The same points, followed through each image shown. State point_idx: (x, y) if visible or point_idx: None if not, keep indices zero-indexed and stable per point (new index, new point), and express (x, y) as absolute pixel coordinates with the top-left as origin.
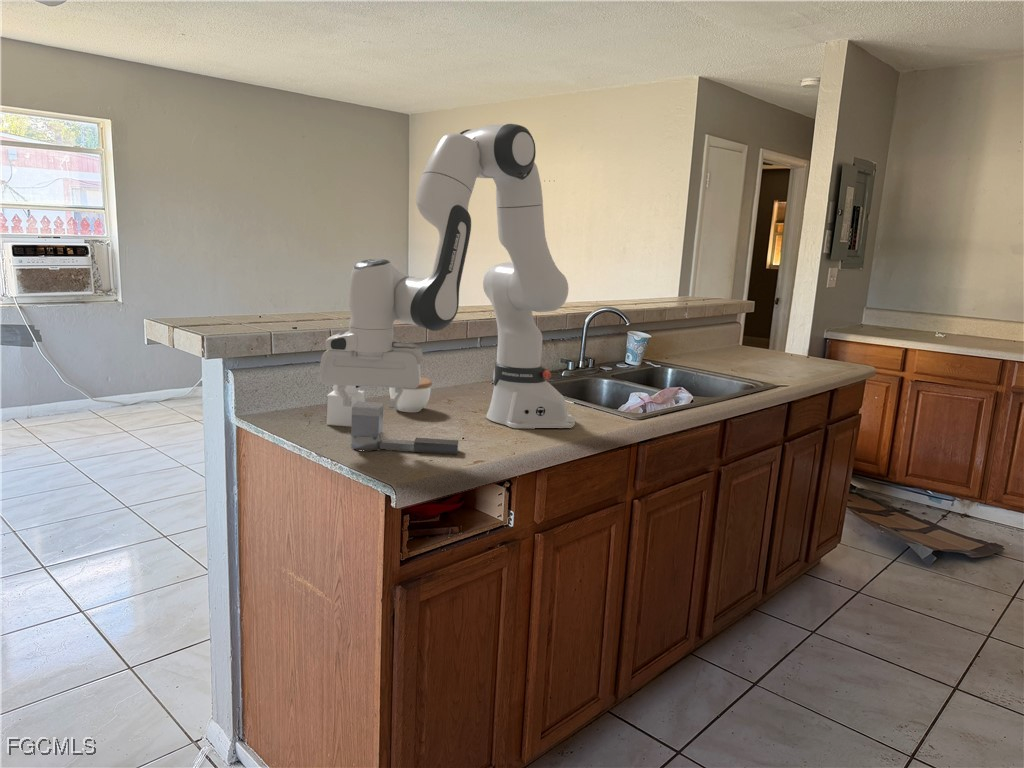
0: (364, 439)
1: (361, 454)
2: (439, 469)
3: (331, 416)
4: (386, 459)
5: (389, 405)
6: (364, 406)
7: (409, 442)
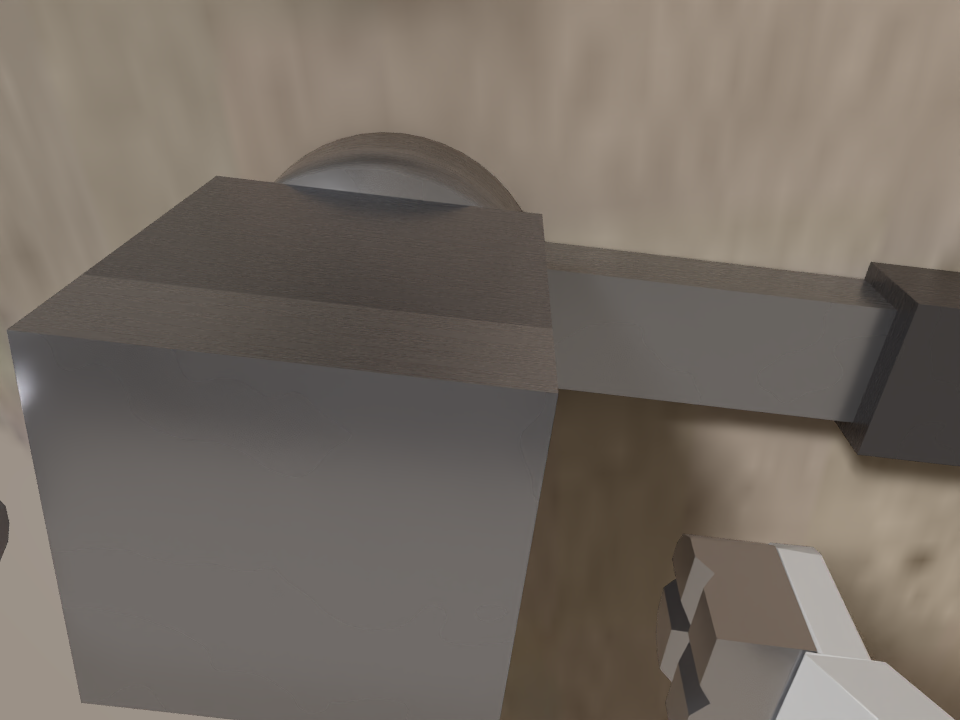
0: None
1: None
2: None
3: None
4: (575, 555)
5: (663, 659)
6: (249, 648)
7: (818, 367)
